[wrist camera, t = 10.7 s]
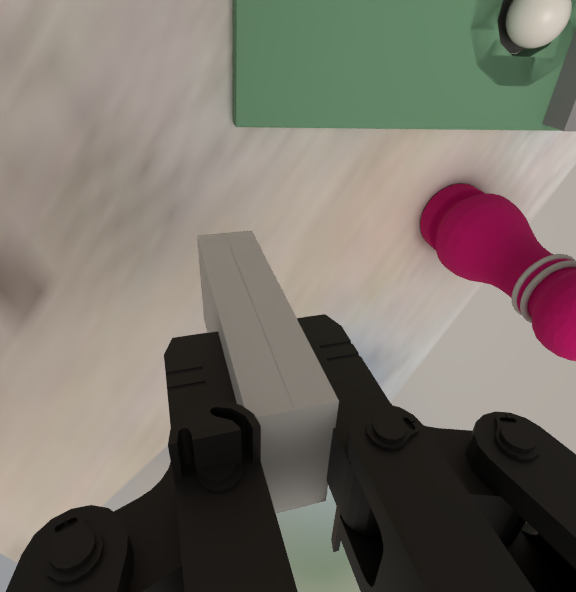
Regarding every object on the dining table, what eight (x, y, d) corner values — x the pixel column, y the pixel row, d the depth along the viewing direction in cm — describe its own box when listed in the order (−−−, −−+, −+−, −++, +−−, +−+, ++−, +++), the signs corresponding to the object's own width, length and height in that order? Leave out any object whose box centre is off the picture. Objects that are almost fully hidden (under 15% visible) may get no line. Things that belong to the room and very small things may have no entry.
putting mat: (232, 121, 32) (241, 135, 29) (232, -198, 24) (245, -228, 21) (557, 126, 39) (593, 137, 36) (649, -123, 30) (708, -137, 27)
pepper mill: (469, 252, 44) (650, 400, 28) (404, 249, 42) (559, 408, 26) (499, 180, 41) (726, 303, 24) (429, 174, 39) (628, 303, 22)
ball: (513, 56, 31) (570, 53, 31) (532, -13, 28) (594, -16, 29) (489, 41, 34) (541, 39, 34) (505, -23, 31) (561, -26, 32)
